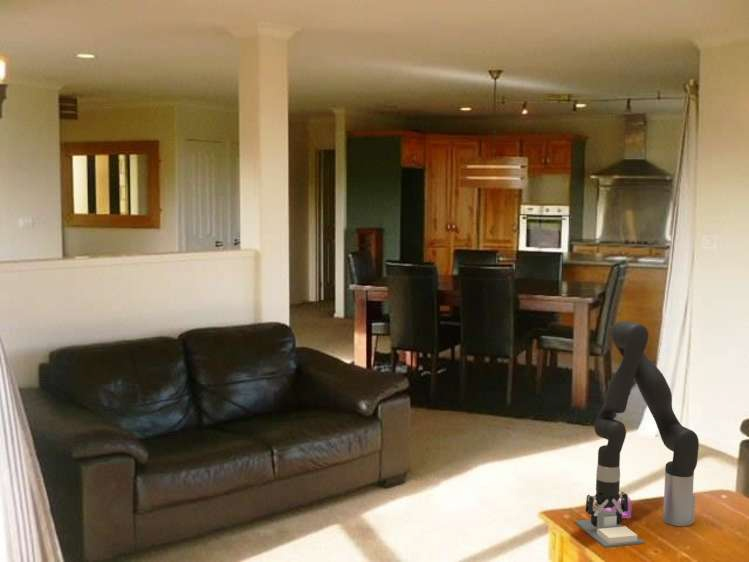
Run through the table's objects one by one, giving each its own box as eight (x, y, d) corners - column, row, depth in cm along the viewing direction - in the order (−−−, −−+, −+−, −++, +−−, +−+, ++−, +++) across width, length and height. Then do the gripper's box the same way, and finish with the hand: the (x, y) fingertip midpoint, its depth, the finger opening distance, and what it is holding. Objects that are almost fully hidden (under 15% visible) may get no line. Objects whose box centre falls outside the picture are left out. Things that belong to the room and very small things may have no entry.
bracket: (630, 518, 297) (631, 499, 296) (616, 520, 295) (617, 500, 294) (610, 505, 309) (611, 486, 308) (596, 506, 308) (597, 487, 307)
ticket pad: (611, 519, 295) (611, 511, 295) (644, 543, 275) (644, 535, 275) (574, 522, 292) (574, 514, 292) (604, 547, 272) (605, 539, 272)
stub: (608, 525, 288) (609, 509, 287) (616, 531, 283) (616, 515, 282) (596, 526, 287) (597, 510, 286) (603, 532, 282) (604, 516, 281)
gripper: (621, 472, 288) (619, 518, 290) (583, 475, 285) (581, 522, 287) (633, 479, 281) (631, 527, 283) (593, 482, 278) (592, 530, 280)
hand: (606, 524), depth 285 cm, fingers open, 8 cm apart
